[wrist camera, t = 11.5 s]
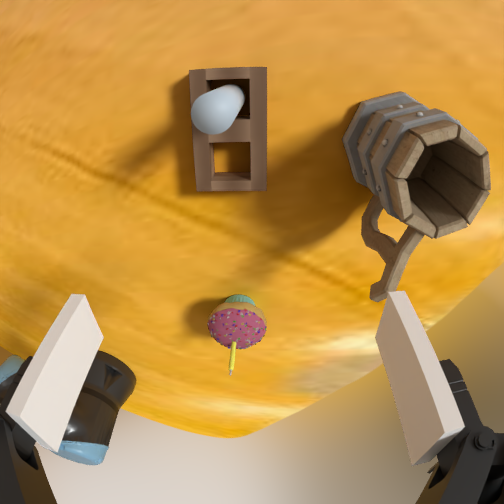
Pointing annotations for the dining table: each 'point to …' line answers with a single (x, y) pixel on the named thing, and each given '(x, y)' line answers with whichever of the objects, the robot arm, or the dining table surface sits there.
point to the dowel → (217, 108)
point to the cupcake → (237, 324)
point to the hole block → (232, 132)
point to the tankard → (413, 176)
